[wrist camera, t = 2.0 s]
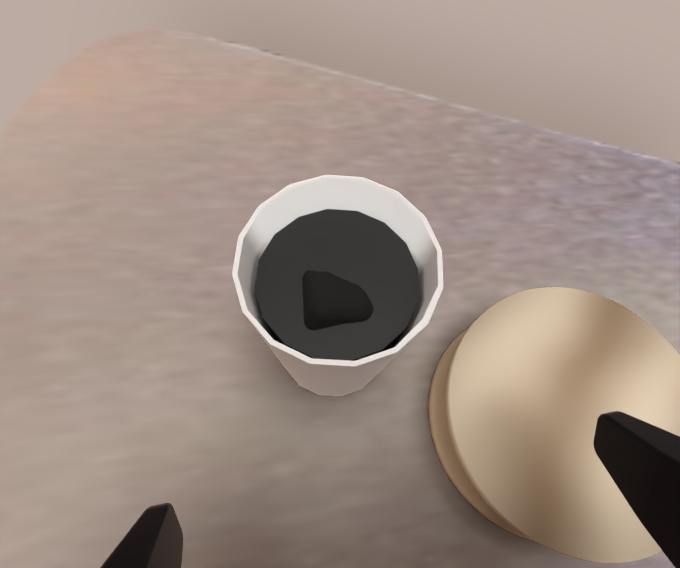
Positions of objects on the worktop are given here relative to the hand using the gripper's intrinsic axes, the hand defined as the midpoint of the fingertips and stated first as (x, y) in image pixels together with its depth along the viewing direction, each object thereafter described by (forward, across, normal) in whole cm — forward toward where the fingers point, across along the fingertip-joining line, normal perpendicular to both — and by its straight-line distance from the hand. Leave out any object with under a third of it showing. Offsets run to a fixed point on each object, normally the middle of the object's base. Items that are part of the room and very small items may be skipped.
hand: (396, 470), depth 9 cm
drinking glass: (+13, 0, +5) cm, 14 cm away
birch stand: (+9, -9, +9) cm, 16 cm away
